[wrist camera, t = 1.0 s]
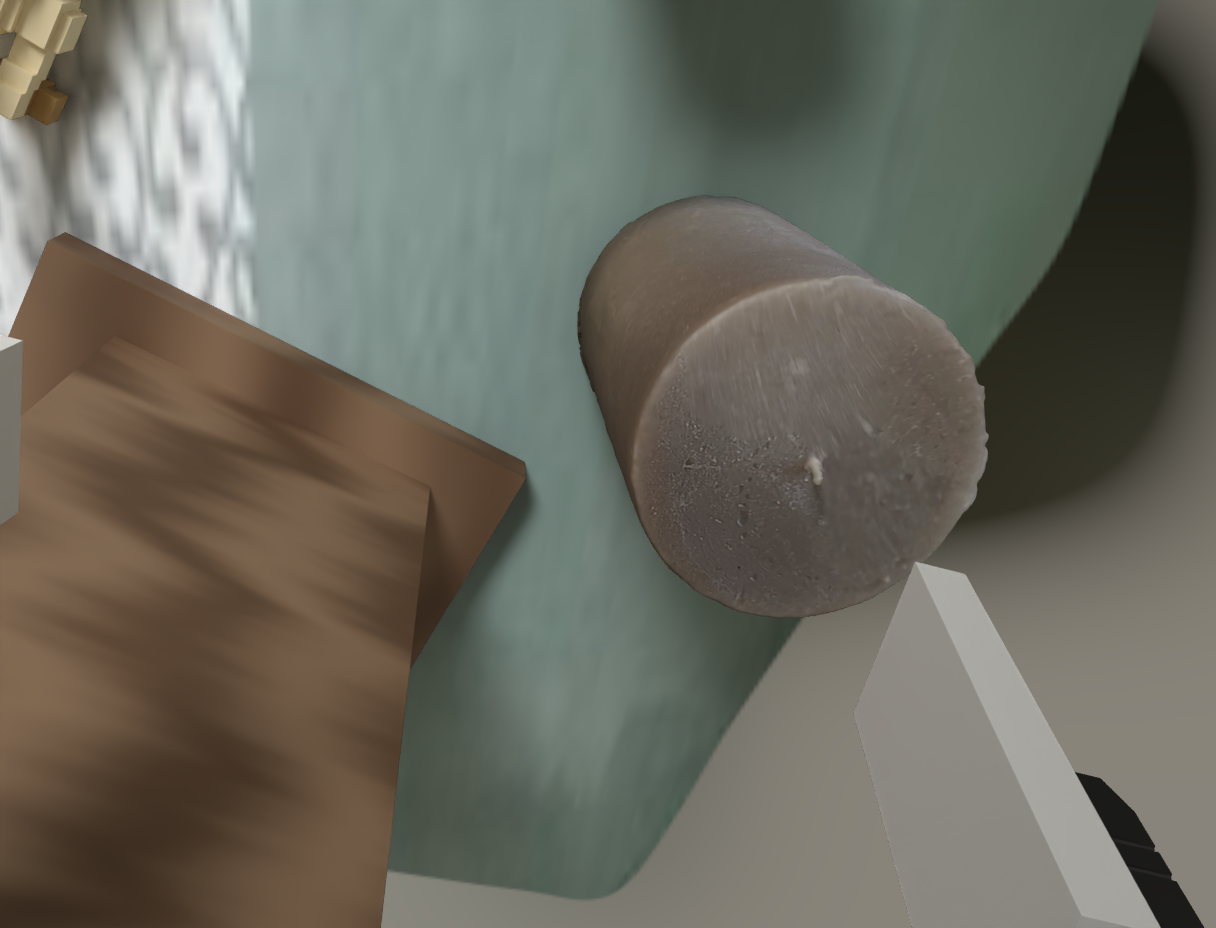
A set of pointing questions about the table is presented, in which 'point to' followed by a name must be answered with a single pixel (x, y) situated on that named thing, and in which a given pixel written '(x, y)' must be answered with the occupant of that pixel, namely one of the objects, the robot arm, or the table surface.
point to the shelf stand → (212, 611)
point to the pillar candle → (776, 408)
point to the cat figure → (36, 55)
